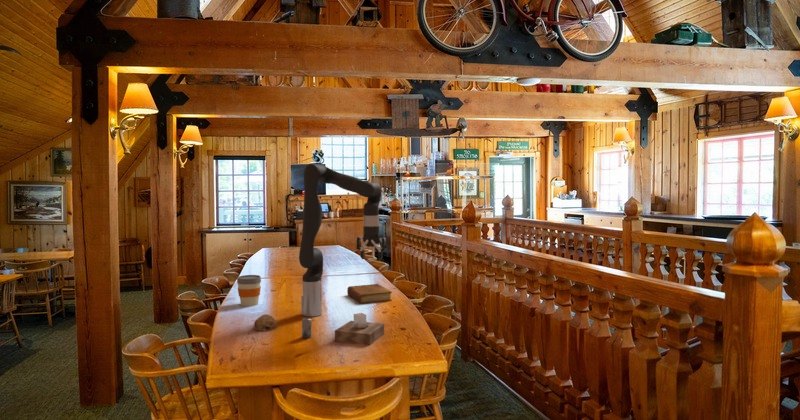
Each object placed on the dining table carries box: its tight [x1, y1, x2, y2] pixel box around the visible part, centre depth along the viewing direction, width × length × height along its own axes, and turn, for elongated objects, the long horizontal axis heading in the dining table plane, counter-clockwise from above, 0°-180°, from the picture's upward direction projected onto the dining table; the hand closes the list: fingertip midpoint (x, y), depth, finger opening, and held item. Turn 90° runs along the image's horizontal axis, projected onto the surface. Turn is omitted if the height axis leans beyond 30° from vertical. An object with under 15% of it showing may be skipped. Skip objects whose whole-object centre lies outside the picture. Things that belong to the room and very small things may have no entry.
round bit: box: [301, 317, 313, 340], centre depth 222 cm, size 4×4×8 cm
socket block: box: [334, 320, 385, 346], centre depth 222 cm, size 16×16×4 cm
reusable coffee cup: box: [236, 274, 262, 307], centre depth 281 cm, size 13×13×15 cm
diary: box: [346, 283, 393, 305], centre depth 295 cm, size 23×19×6 cm
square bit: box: [353, 312, 367, 330], centre depth 222 cm, size 4×4×10 cm
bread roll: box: [253, 314, 278, 332], centre depth 237 cm, size 10×10×8 cm
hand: (371, 259), depth 243 cm, fingers open, 8 cm apart
